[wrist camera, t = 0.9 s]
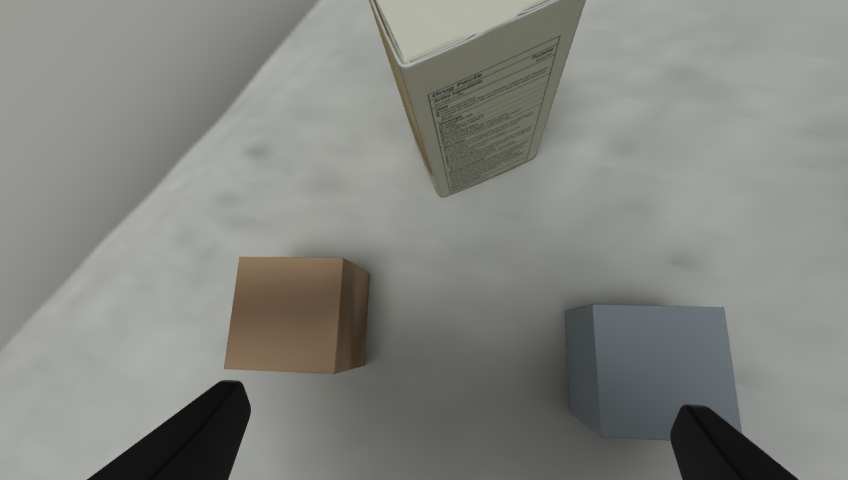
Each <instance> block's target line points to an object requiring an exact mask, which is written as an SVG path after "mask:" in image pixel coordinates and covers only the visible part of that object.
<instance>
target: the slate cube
mask: <svg viewBox="0 0 848 480" xmlns="http://www.w3.org/2000/svg"><path fill="white" fill-rule="evenodd" d="M565 325H566V345H567V365H568V385H569V405H570V413H571V414H573V415H574V416H575V417H577V418H578V419H579V420H580V421H582V422H583V423H584V424H586V425H587V426H588V427H589V428H591V429H592V430H593V431H595V432H596V433H597V434H599V435H600V436H601V437H616V438H633V439H650V440H667V441H671V439H670V433H671V428H672V426H673V424H674V421H675V419H676V417H677V414H678V412H679V409H680V407H681V406H683V405H684V404H693V405H704V406H707V407H709V408H710V409H712V410H713V411H714V412H716V413H717V414H718V415H719V416H721V417H722V418H723V419H724V420H726V421H727V422H728V423H729V424H730V425H732V426H733V427H734V428H735V429H737V430H738V431H739V432H740V433H742V432H741V424H740V417H739V410H738V403H737V396H736V389H735V382H734V375H733V367H732V360H731V353H730V346H729V339H728V332H727V325H726V318H725V310H724V307H685V306H639V305H589V306H585V307H580V308H576V309H572V310H568V311H565Z"/></svg>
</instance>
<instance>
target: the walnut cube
mask: <svg viewBox="0 0 848 480" xmlns="http://www.w3.org/2000/svg"><path fill="white" fill-rule="evenodd" d="M369 279H370V274H369V273H367V272H366V271H364V270H362V269H361V268H359V267H357V266H356V265H354V264H353V263H351V262H349V261H348V260H346V259H344V258H303V257H239V264H238V271H237V278H236V286H235V293H234V300H233V307H232V314H231V322H230V329H229V336H228V343H227V350H226V358H225V365H224V369H236V370H258V371H281V372H304V373H326V374H335V373H339V372H342V371H346V370H349V369H353V368H356V367H360V366H363V365H364V359H365V343H366V327H367V311H368V295H369Z"/></svg>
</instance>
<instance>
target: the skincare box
mask: <svg viewBox="0 0 848 480" xmlns="http://www.w3.org/2000/svg"><path fill="white" fill-rule="evenodd" d="M585 1H586V0H369V2H370V5H371V8H372V11H373V14H374V17H375V20H376V23H377V26H378V29H379V32H380V35H381V38H382V41H383V44H384V47H385V50H386V54H387V57H388V60H389V63H390V65H391V68H392V71H393V75H394V78H395V81H396V84H397V87H398V90H399V92H400V95H401V99H402V102H403V105H404V108H405V111H406V114H407V117H408V120H409V123H410V126H411V129H412V132H413V135H414V138H415V141H416V143H417V146H418V148H419V151H420V153H421V156H422V158H423V161H424V163H425V166H426V168H427V171H428V173H429V175H430V178H431V180H432V182H433V184H434V186H435V189H436V191H437V193H438V195H439V196H440V197H445V196H448V195H450V194H453V193H456V192H458V191H460V190H463V189H465V188H468V187H470V186H473V185H475V184H477V183H480V182H482V181H484V180H487V179H489V178H491V177H493V176H496V175H498V174H500V173H502V172H505V171H507V170H509V169H511V168H513V167H516V166H518V165H520V164H522V163H524V162H526V161H528V160H530V159H533V158H534V157H535V156H536V153H537V150H538V147H539V144H540V140H541V137H542V134H543V131H544V128H545V125H546V122H547V119H548V115H549V112H550V109H551V106H552V103H553V100H554V97H555V94H556V91H557V88H558V85H559V82H560V78H561V76H562V72H563V69H564V66H565V63H566V60H567V57H568V54H569V50H570V47H571V44H572V41H573V38H574V35H575V32H576V29H577V26H578V23H579V20H580V16H581V13H582V10H583V7H584V4H585Z"/></svg>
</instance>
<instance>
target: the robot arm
mask: <svg viewBox="0 0 848 480" xmlns="http://www.w3.org/2000/svg"><path fill="white" fill-rule="evenodd" d="M250 413H251V406H250V403H249V400H248V397H247V394H246V391H245V388H244V386H243V384H242V383H241V382H240V381H234V380H223V381H220V382H218V383H217V384H215V385H214V386H213V387H211V388H210V389H209V390H207V391H206V392H205V393H203V394H202V395H200V396H199V397H198V398H196V399H195V400H194V401H192V402H191V403H190V404H188V405H187V406H186V407H184V408H183V409H182V410H180V411H179V412H178V413H176V414H175V415H174V416H172V417H171V418H169V419H168V420H167V421H165V422H164V423H163V424H161V425H160V426H159V427H157V428H156V429H155V430H153V431H152V432H151V433H149V434H148V435H147V436H145V437H144V438H143V439H141V440H140V441H138V442H137V443H136V444H134V445H133V446H132V447H130V448H129V449H128V450H126V451H125V452H124V453H122V454H121V455H120V456H118V457H117V458H116V459H114V460H113V461H112V462H110V463H109V464H107V465H106V466H105V467H103V468H102V469H101V470H99V471H98V472H97V473H95V474H94V475H93V476H91V477H90V478H89V479H87V480H228V479H229V476H230V473H231V470H232V467H233V464H234V461H235V459H236V456H237V453H238V450H239V447H240V444H241V441H242V438H243V435H244V433H245V430H246V427H247V424H248V421H249V418H250ZM670 439H671V444H672V447H673V450H674V454H675V457H676V460H677V463H678V466H679V470H680V473H681V476H682V479H683V480H798V479H797V478H796V477H795V476H793V475H792V474H791V473H790V472H789V471H787V470H786V469H785V468H784V467H782V466H781V465H780V464H779V463H777V462H776V461H775V460H774V459H772V458H771V457H770V456H769V455H768V454H766V453H765V452H764V451H763V450H761V449H760V448H759V447H758V446H756V445H755V444H754V443H753V442H751V441H750V440H749V439H748V438H747V437H745V436H744V435H743V434H742V433H740V432H739V431H738V430H737V429H735V428H734V427H733V426H732V425H730V424H729V423H728V422H727V421H726V420H724V419H723V418H722V417H721V416H719V415H718V414H717V413H716V412H714V411H713V410H712V409H710V408H709V407H707V406H704V405H693V404H684V405H683V406H681V407H680V409H679V412H678V414H677V417H676V419H675V421H674V424H673V426H672V428H671V433H670Z"/></svg>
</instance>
